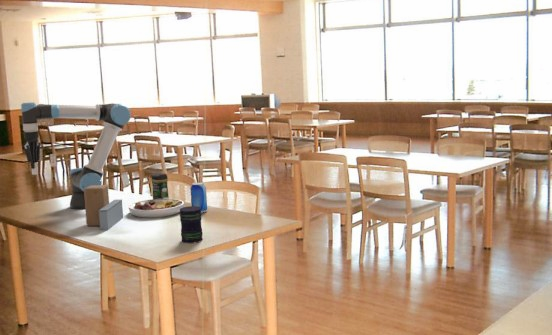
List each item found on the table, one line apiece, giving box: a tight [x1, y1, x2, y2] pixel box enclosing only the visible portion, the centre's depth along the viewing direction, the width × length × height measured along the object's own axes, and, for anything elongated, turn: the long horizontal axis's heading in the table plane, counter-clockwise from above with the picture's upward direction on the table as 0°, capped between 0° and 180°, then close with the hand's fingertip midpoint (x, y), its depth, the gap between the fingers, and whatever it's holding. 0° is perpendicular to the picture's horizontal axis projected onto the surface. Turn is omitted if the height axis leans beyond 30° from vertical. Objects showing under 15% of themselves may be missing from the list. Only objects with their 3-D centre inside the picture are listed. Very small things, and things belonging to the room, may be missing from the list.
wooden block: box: [84, 184, 110, 227], centre depth 341 cm, size 10×10×20 cm
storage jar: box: [179, 205, 203, 244], centre depth 302 cm, size 10×10×15 cm
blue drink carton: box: [190, 181, 208, 214], centre depth 361 cm, size 8×8×16 cm
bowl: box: [128, 198, 185, 219], centre depth 364 cm, size 30×30×8 cm
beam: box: [99, 199, 124, 231], centre depth 341 cm, size 26×4×10 cm, turn 177°
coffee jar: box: [151, 172, 170, 199], centre depth 386 cm, size 10×8×19 cm
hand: (35, 174), depth 358 cm, fingers closed
